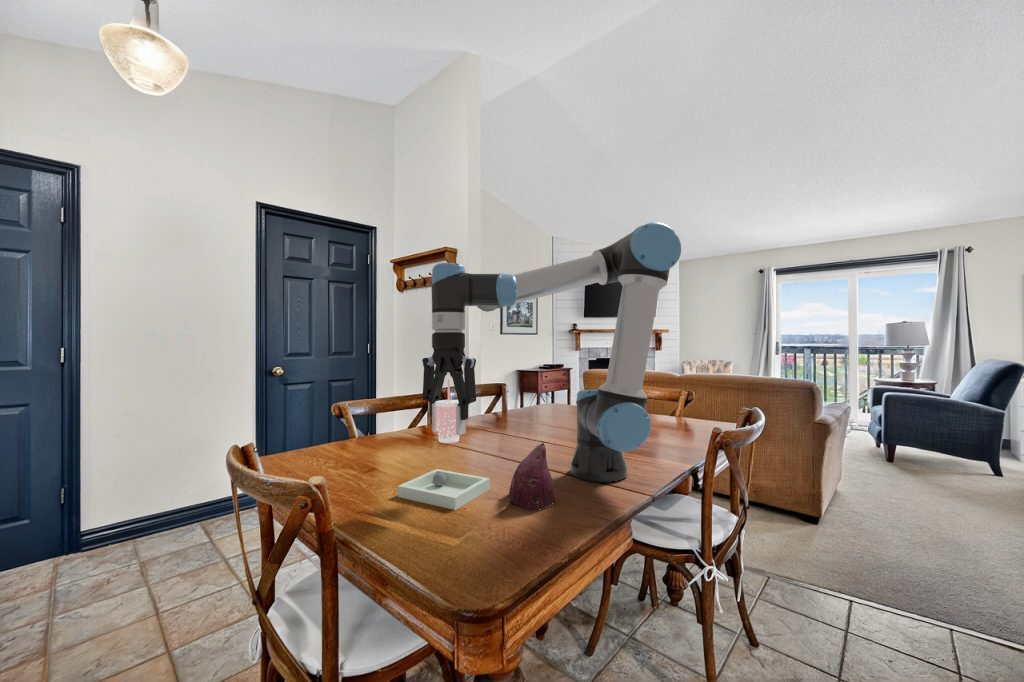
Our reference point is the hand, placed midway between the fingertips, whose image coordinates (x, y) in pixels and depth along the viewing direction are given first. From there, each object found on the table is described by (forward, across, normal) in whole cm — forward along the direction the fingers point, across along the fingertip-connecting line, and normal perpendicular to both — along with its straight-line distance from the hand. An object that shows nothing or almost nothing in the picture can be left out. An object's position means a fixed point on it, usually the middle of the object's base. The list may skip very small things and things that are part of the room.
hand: (448, 432), depth 95 cm
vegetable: (+16, +17, +8) cm, 25 cm away
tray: (+15, -2, +1) cm, 16 cm away
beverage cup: (+2, 0, 0) cm, 2 cm away
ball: (+14, -6, +4) cm, 16 cm away
